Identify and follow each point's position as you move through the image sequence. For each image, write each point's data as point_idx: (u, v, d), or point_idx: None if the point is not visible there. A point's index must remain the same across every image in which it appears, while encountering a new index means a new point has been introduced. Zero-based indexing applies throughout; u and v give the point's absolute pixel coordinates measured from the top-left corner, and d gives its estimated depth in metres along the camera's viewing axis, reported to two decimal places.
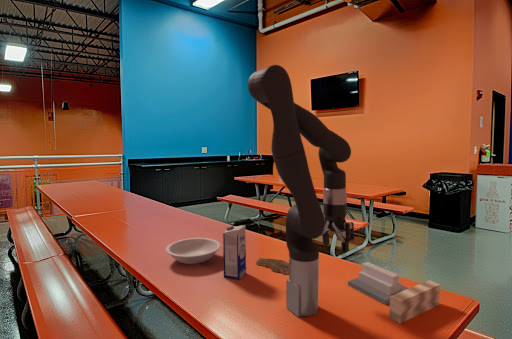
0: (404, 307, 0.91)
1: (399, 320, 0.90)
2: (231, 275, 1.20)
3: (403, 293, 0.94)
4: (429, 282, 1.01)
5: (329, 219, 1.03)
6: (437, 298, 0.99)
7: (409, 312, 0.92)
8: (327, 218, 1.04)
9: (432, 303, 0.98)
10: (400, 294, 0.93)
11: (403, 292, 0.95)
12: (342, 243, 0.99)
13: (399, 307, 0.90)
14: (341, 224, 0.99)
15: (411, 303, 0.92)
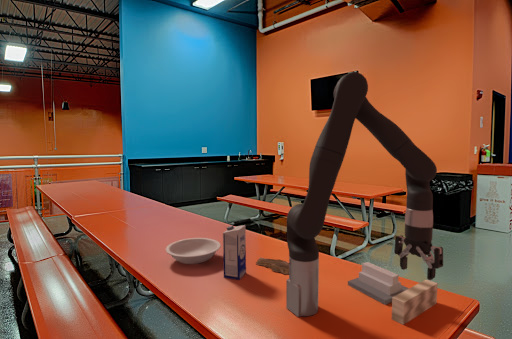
0: (407, 308, 0.90)
1: (402, 321, 0.90)
2: (231, 275, 1.20)
3: (404, 294, 0.94)
4: (427, 281, 1.01)
5: (411, 242, 0.95)
6: (435, 297, 1.00)
7: (410, 313, 0.92)
8: (408, 241, 0.96)
9: (431, 303, 0.99)
10: (402, 295, 0.93)
11: (404, 293, 0.94)
12: (428, 269, 0.91)
13: (402, 308, 0.89)
14: (428, 248, 0.91)
15: (412, 304, 0.92)
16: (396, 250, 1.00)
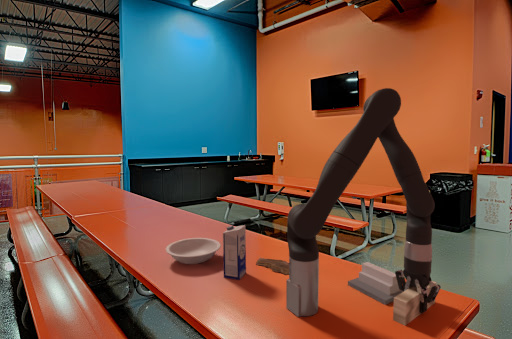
0: (408, 308, 0.90)
1: (404, 321, 0.89)
2: (231, 275, 1.20)
3: (405, 293, 0.93)
4: None
5: (410, 274, 0.96)
6: None
7: (412, 312, 0.91)
8: (406, 272, 0.97)
9: (430, 302, 0.99)
10: (403, 295, 0.93)
11: (405, 292, 0.94)
12: (420, 302, 0.94)
13: (404, 308, 0.89)
14: (426, 283, 0.92)
15: (414, 304, 0.92)
16: (401, 286, 0.99)
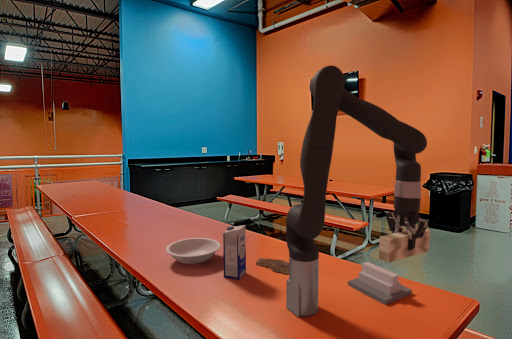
0: (393, 246, 0.93)
1: (388, 258, 0.93)
2: (231, 275, 1.20)
3: (393, 235, 0.97)
4: None
5: (399, 214, 0.98)
6: (427, 243, 1.02)
7: (398, 252, 0.95)
8: (396, 212, 0.99)
9: (422, 248, 1.01)
10: (390, 235, 0.96)
11: (393, 234, 0.97)
12: (409, 240, 0.96)
13: (388, 245, 0.92)
14: (415, 219, 0.94)
15: (400, 244, 0.95)
16: (391, 227, 1.01)
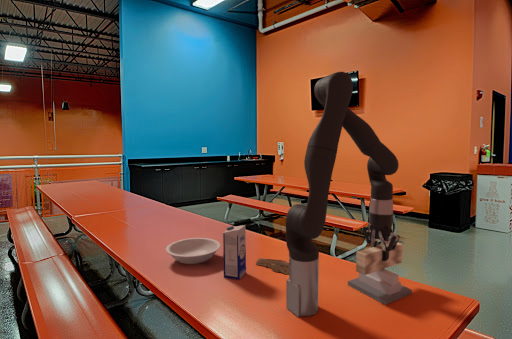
0: (368, 260, 1.04)
1: (364, 271, 1.03)
2: (231, 275, 1.20)
3: (368, 249, 1.07)
4: None
5: (375, 228, 1.09)
6: (400, 256, 1.13)
7: (373, 265, 1.05)
8: (372, 226, 1.10)
9: (395, 260, 1.11)
10: (365, 250, 1.07)
11: (368, 249, 1.08)
12: (383, 252, 1.07)
13: (364, 260, 1.03)
14: (387, 234, 1.05)
15: (375, 258, 1.05)
16: (368, 240, 1.12)
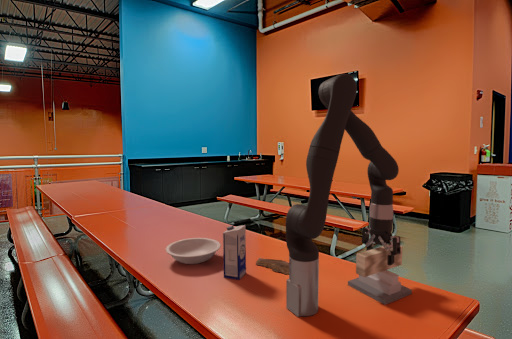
0: (368, 262, 1.04)
1: (363, 273, 1.04)
2: (231, 275, 1.20)
3: (368, 251, 1.07)
4: None
5: (375, 233, 1.09)
6: (400, 258, 1.13)
7: (372, 267, 1.05)
8: (372, 231, 1.10)
9: (395, 262, 1.12)
10: (365, 252, 1.07)
11: (368, 251, 1.08)
12: (388, 256, 1.05)
13: (364, 262, 1.03)
14: (388, 238, 1.05)
15: (374, 260, 1.05)
16: (363, 240, 1.14)
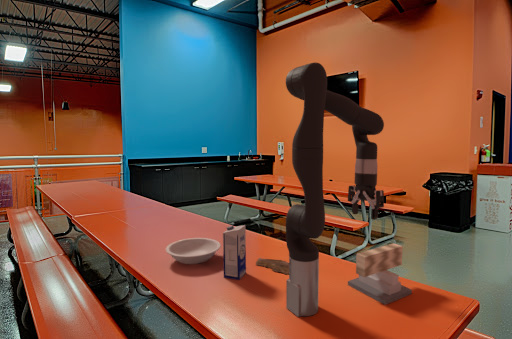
0: (368, 262, 1.04)
1: (363, 273, 1.04)
2: (231, 275, 1.20)
3: (368, 251, 1.07)
4: (393, 244, 1.14)
5: (360, 189, 1.11)
6: (400, 258, 1.13)
7: (372, 267, 1.05)
8: (358, 188, 1.12)
9: (395, 262, 1.12)
10: (365, 252, 1.07)
11: (368, 251, 1.08)
12: (372, 210, 1.07)
13: (364, 262, 1.03)
14: (372, 192, 1.06)
15: (374, 260, 1.05)
16: (349, 198, 1.16)
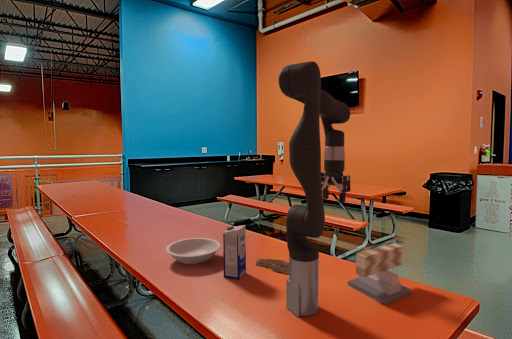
0: (368, 262, 1.04)
1: (363, 273, 1.04)
2: (231, 275, 1.20)
3: (368, 251, 1.07)
4: (393, 244, 1.14)
5: (329, 175, 1.17)
6: (400, 258, 1.13)
7: (372, 267, 1.05)
8: (327, 174, 1.18)
9: (395, 262, 1.12)
10: (365, 252, 1.07)
11: (368, 251, 1.08)
12: (340, 194, 1.13)
13: (364, 262, 1.03)
14: (339, 177, 1.13)
15: (374, 260, 1.05)
16: None
